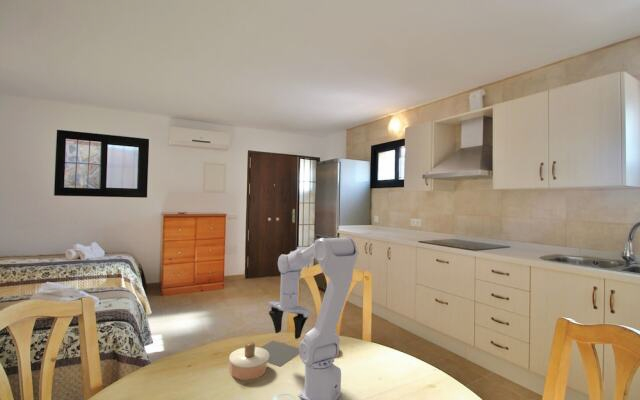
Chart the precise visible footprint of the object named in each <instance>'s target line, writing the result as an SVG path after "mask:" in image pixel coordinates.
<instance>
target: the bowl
mask: <svg viewBox="0 0 640 400" xmlns="http://www.w3.org/2000/svg"><path fill="white" fill-rule="evenodd" d="M267 366H268V362H265V363H264V364H262V365H259V366H255V367H238V366H235V365H233V364H232V363H231V362H230V361H229V366H228V367H229V369H228V370H229V374H230V376H231V377H232V378H234V379H237V380H242V381H247V380H248V381H249V380H254V379H257V378H260V377H262V376H263V375H264V374H265V373H266V371H267Z"/></svg>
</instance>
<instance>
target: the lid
mask: <svg viewBox="0 0 640 400" xmlns="http://www.w3.org/2000/svg"><path fill="white" fill-rule="evenodd" d="M268 359H269V352H268V351H267V350H265V349H263V348H260V347H259V346H258V347H257V346H256V343H255V342H253V341H247V342H246V343H244V347H241V348H237V349H236V350H234V351H232V352H231V353H229V360H228V361H229V363H230V362H231V363H232V364H233V365H235V366H238V367H255V366H259V365H262V364H264V363H265V362H267V361H268ZM267 363H268V362H267Z"/></svg>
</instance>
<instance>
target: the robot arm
mask: <svg viewBox="0 0 640 400" xmlns="http://www.w3.org/2000/svg"><path fill="white" fill-rule="evenodd" d="M358 256H359V250H358V247H357V244H356V242H355V239H354V238H353V237H350V236H345V237H331V238H330V237H328V238H327V237H326V238H325V237H319V238H318V239H315V240H314V241H313V243H312V244H311V245H310V246H308V247H304V246H303V245H301V246H297V247H296V249H295V250H291V251H290V252H289V253H288V254H284V253H283V254H280V255H279V256H278V260H277V267H278V272H280V291H279V294H280V295H279V301H275V300H274V301H273V300H272V301H270V302H268V309H270V310H269V311H268V315H269V316H270V318H271V320H272V323H273V327H274V332H275V334H279V333H280V332H282V328H283V327H282V324H283V323H282V322H283V316H284V312H286V313H290V314H294V315H295V316H293V317H292V320H293V322H294V323H293V325H294V339H296V340H298V339H299V338H301V337H302V336H301V335H302V331H303V329H304V326H305V324H306V321H307V320H308V319H309V317H310V314H311V313H310V309H309V308H306V307H303V306H301V305H299V280H300V278H301V275H302V274H301V273H302V270H303V268H305V267H307V266H309V265H310V264H312V262H313V260H314V259H316V260H317V262H318V265H319V267H320V269H321V271H322V273H323V275H325V276H326V277H328V281H327V285H326V290H325V292H324V294H323V299H322V301H321V305H320V308H319V310H318V311H319V312H318V315H317V318H316V321H315V325H314V327H312V328H311V329H310V330H309V331H308V332H306V333H305V334H304V337H303V339H302V340H301V341H300V342H299V345H298V348H299V354H298V356H299V358H300V361H301V362H302V363H303V364H304V389H303V390H301V392H299V393H298V394H297V397H298V398H300V399H302V400H338V399H339V398H340V396H341V395H342V391H341V390H342V389H341V388H342V370H341V368H340V367H339V366H337V365H335V364H334V363H335V358H336V357H338V355H339V353H340V346H339V345H340V342H341V338H340V336H339V334H338V332H337V331H336V329H337V326H338V323H339V321H340V318H341V314H342V312H343V308H344V305H345V302H346V300H347V297H348V293H349V291H350V287H351V285H352V282H353V275H354V268H355V266H356V263H357V259H358ZM338 352H339V353H338Z"/></svg>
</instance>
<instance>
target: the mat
mask: <svg viewBox="0 0 640 400" xmlns="http://www.w3.org/2000/svg"><path fill="white" fill-rule="evenodd" d="M259 348H263V349H265V350H267V351H268V352H269V359H268V361H267V364H272V365H273V366H277V367H280V368H281V367H283V366H285V364H287V363H288V362H290V361H291V360H292V359H294V358H296V357H297V356H299V347H296V346H293V345H289V344H286V343H283V342H280V341H276V340H270V341H269V342H267V343H265V344H263V345H262V346H260V347H259Z"/></svg>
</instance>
